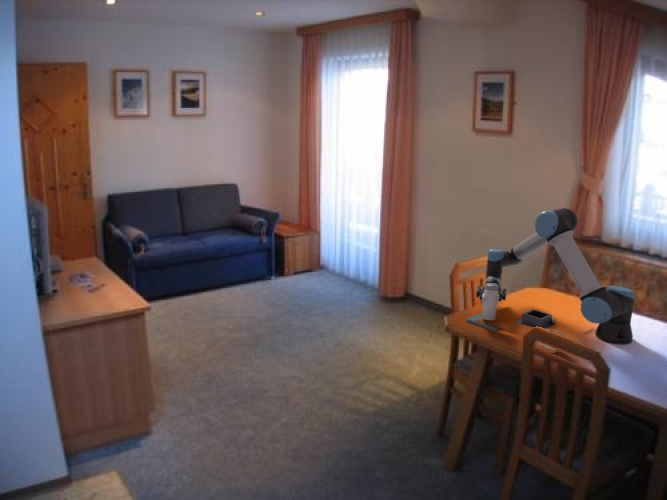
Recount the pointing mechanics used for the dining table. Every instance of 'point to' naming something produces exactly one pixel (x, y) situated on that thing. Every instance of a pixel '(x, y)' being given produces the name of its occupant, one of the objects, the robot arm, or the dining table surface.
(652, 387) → the dining table surface
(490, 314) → the cylinder
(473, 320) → the mat
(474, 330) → the dining table surface
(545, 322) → the housing
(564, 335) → the lidded jar
